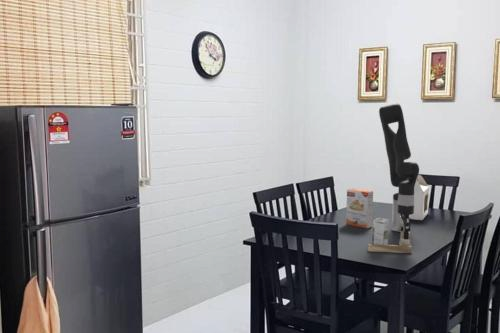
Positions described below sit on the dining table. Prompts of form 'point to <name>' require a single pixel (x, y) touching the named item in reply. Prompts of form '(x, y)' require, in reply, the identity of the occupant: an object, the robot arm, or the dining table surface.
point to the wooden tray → (393, 246)
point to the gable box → (420, 199)
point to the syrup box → (380, 231)
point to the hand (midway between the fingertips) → (404, 236)
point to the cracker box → (359, 208)
